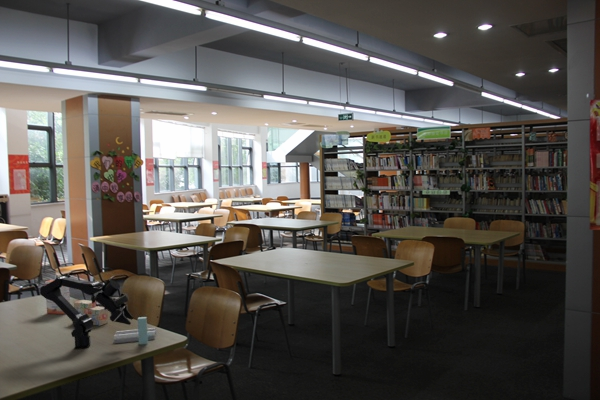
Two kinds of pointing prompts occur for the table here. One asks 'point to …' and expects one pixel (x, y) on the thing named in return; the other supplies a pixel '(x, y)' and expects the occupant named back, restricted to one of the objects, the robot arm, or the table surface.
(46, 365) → the table surface
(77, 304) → the stack of blocks
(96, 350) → the table surface
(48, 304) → the cracker box
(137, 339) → the floor track
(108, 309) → the robot arm
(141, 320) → the pale teal block
